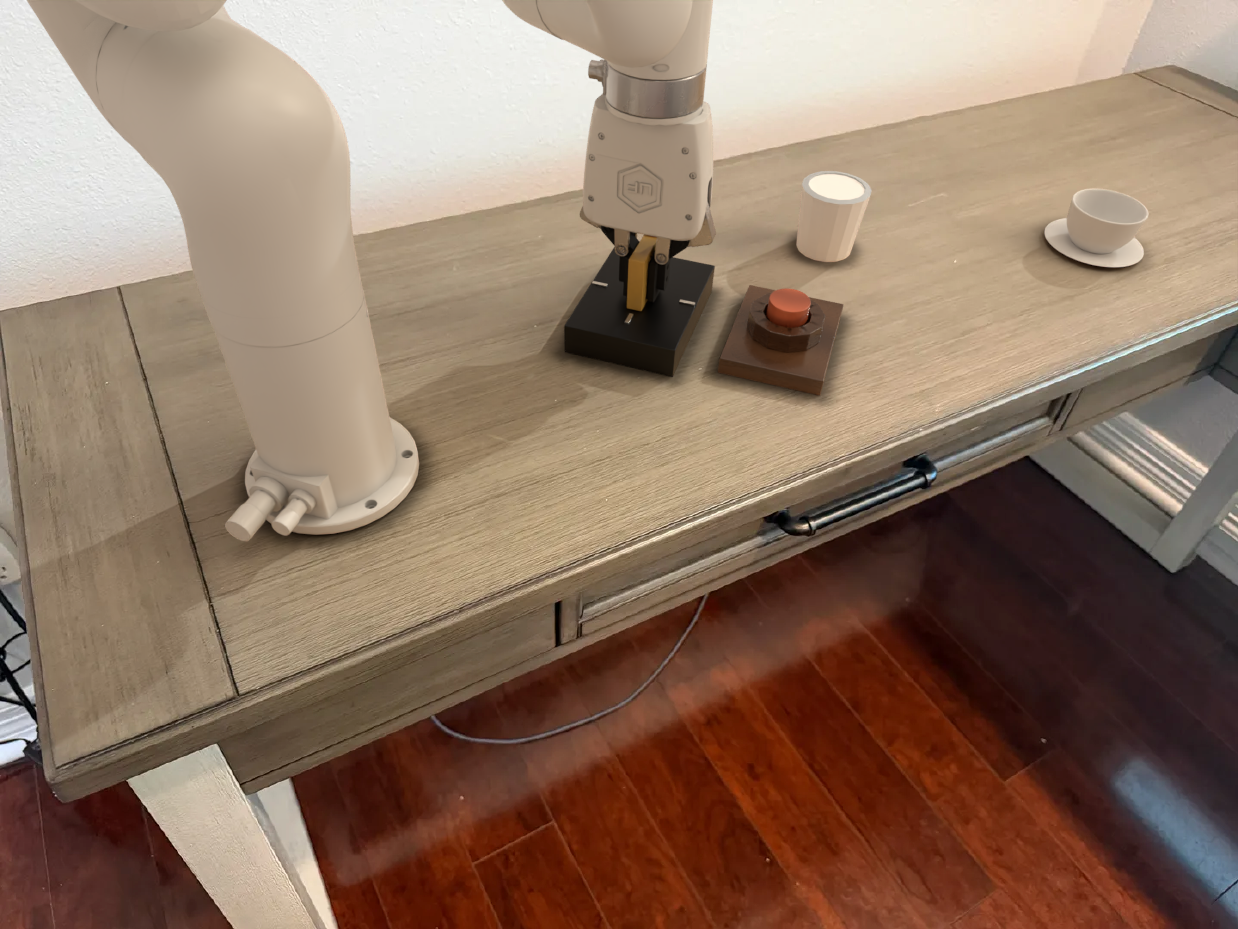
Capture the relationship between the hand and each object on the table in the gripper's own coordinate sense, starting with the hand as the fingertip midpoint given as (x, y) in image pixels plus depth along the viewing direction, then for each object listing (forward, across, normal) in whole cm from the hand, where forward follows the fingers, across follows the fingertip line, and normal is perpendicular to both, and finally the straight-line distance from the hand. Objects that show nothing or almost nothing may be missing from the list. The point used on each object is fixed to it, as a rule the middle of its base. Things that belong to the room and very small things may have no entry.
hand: (643, 290), depth 80 cm
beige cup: (+4, +14, +19) cm, 24 cm away
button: (0, +13, +1) cm, 13 cm away
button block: (+3, +13, +1) cm, 13 cm away
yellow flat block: (0, 0, 0) cm, 0 cm away
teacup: (+4, +41, +30) cm, 51 cm away
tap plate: (+3, 0, 0) cm, 3 cm away
